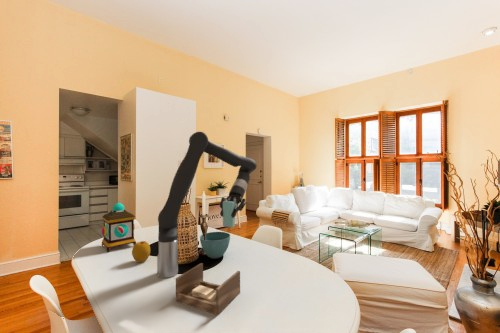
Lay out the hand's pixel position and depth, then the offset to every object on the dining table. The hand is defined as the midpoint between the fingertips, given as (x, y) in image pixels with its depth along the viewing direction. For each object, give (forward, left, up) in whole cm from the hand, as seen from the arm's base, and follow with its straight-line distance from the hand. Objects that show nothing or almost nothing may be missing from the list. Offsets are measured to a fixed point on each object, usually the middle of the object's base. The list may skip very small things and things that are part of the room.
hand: (227, 216), depth 113 cm
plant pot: (-22, +22, -30) cm, 43 cm away
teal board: (0, +2, -5) cm, 5 cm away
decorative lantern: (-93, +9, -30) cm, 98 cm away
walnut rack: (+3, -19, -30) cm, 36 cm away
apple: (-56, -3, -30) cm, 64 cm away
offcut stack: (+3, -23, -29) cm, 37 cm away
